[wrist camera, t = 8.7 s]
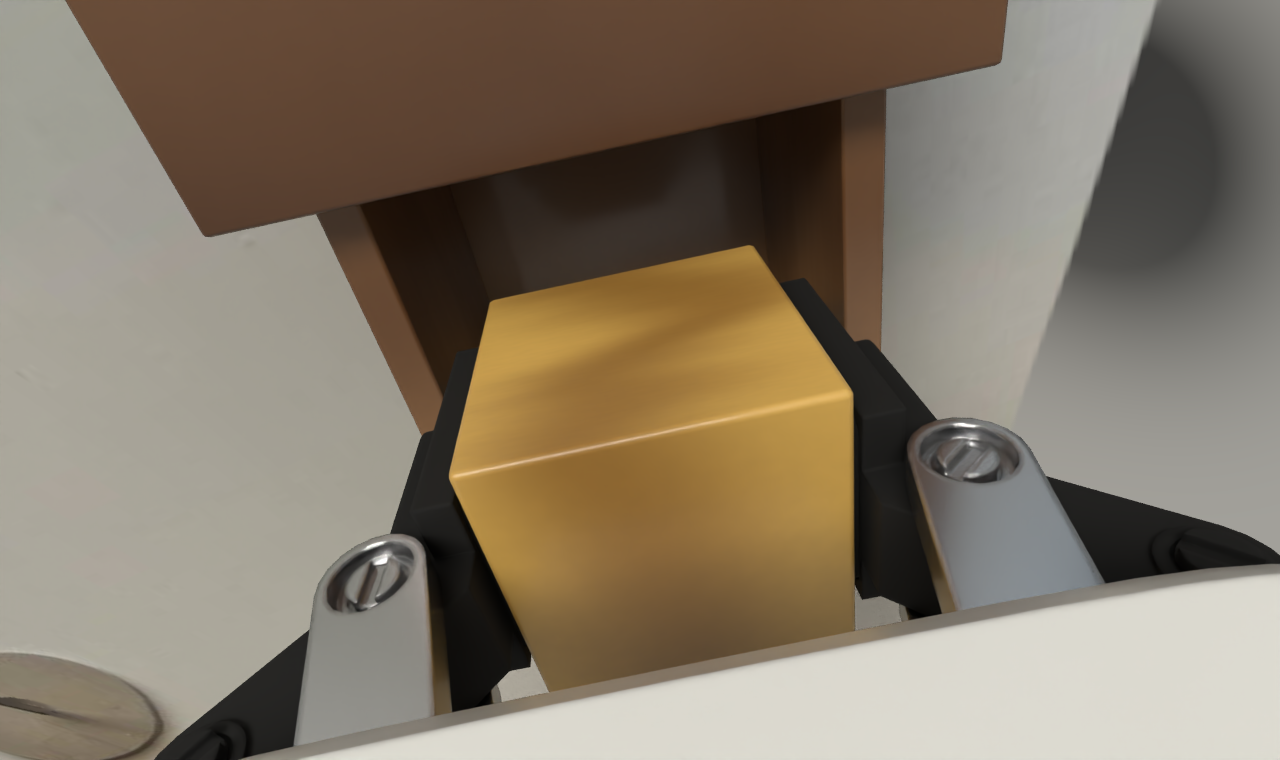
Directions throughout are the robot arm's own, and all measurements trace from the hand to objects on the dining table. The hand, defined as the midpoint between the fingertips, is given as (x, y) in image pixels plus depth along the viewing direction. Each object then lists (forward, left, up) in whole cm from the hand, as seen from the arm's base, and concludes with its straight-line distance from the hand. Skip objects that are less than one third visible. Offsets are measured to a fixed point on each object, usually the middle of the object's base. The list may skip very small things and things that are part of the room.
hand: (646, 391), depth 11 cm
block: (0, 0, 0) cm, 0 cm away
